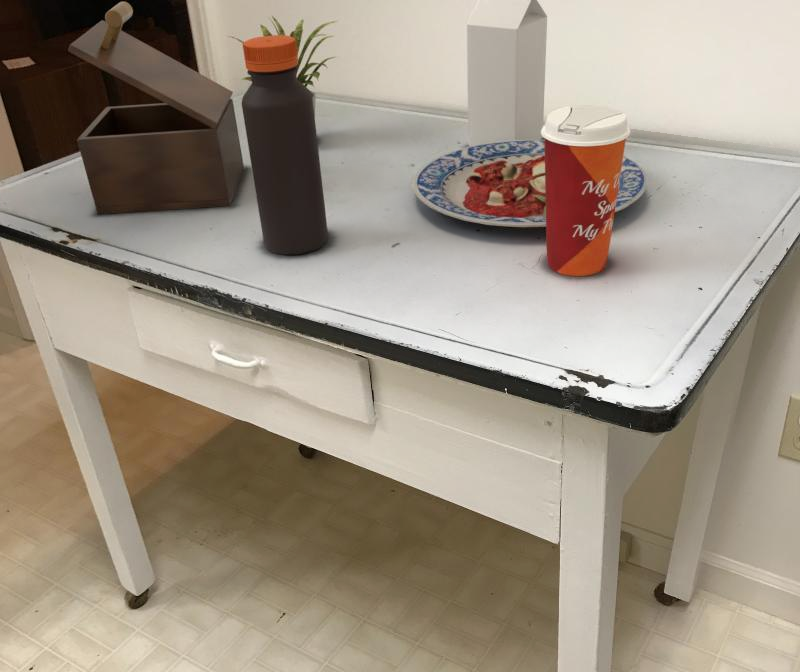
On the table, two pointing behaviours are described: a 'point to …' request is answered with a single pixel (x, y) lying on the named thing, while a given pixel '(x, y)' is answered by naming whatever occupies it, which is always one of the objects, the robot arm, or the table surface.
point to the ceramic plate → (503, 183)
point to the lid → (150, 68)
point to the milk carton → (506, 71)
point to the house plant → (297, 36)
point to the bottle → (283, 147)
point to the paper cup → (582, 185)
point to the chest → (160, 159)
